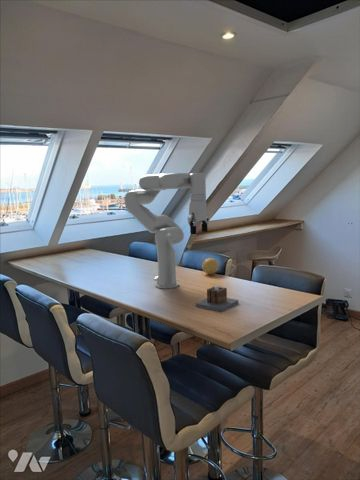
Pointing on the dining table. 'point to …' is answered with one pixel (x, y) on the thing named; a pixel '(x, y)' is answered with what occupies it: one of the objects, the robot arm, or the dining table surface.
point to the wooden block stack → (217, 295)
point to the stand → (216, 307)
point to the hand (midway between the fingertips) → (199, 232)
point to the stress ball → (210, 266)
